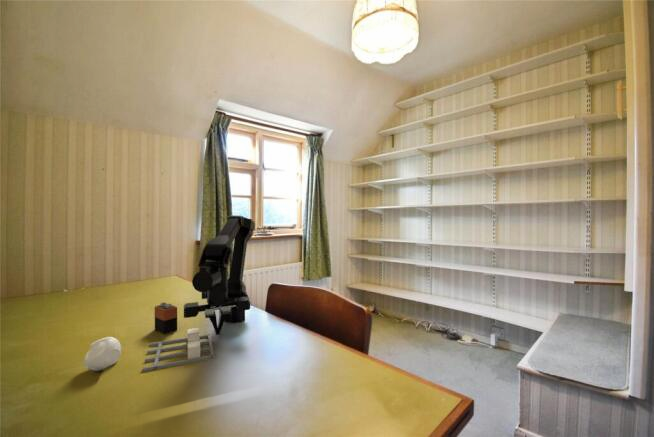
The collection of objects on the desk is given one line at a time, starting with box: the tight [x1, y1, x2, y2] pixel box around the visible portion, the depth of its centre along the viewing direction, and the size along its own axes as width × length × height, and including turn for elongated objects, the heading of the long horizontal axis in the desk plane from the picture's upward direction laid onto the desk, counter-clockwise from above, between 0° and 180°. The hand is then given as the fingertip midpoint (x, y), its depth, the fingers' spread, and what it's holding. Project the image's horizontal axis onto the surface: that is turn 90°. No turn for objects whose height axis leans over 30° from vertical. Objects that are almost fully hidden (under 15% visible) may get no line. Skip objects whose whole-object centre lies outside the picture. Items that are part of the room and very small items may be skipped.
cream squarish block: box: [187, 327, 200, 336], centre depth 88 cm, size 3×4×4 cm
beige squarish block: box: [187, 333, 201, 343], centre depth 84 cm, size 3×4×4 cm
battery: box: [154, 302, 178, 335], centre depth 97 cm, size 4×7×10 cm, turn 55°
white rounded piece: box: [83, 336, 122, 372], centre depth 76 cm, size 8×8×8 cm
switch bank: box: [141, 333, 215, 373], centre depth 82 cm, size 18×16×2 cm
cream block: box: [187, 340, 201, 359], centre depth 79 cm, size 3×4×4 cm
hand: (217, 334), depth 91 cm, fingers closed
